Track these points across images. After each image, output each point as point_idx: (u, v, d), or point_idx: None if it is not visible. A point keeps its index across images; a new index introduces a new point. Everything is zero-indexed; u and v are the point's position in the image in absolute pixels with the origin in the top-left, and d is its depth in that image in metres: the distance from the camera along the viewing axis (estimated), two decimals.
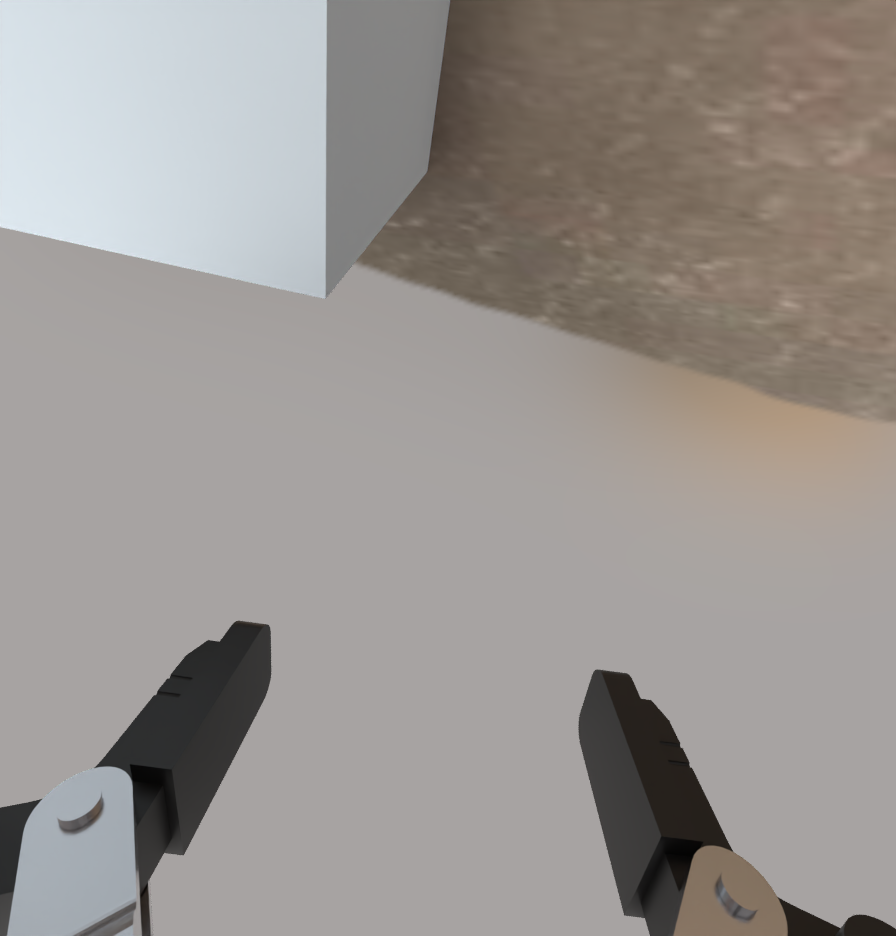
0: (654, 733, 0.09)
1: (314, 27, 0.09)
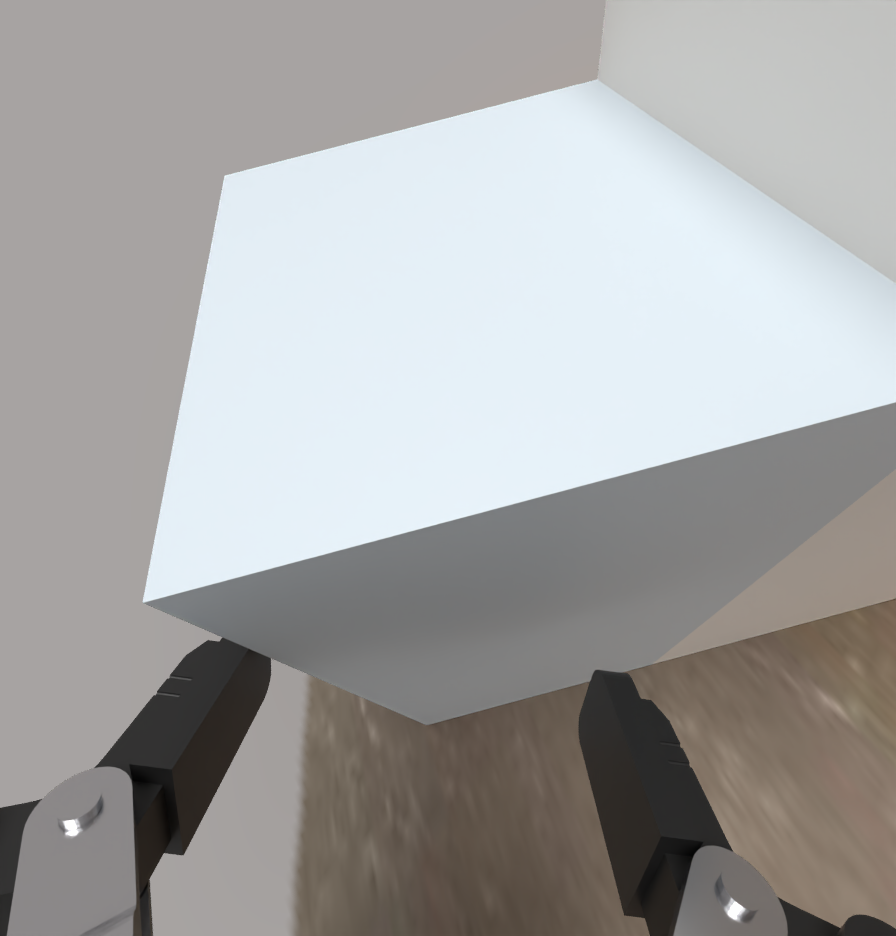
0: (654, 733, 0.09)
1: (486, 496, 0.07)
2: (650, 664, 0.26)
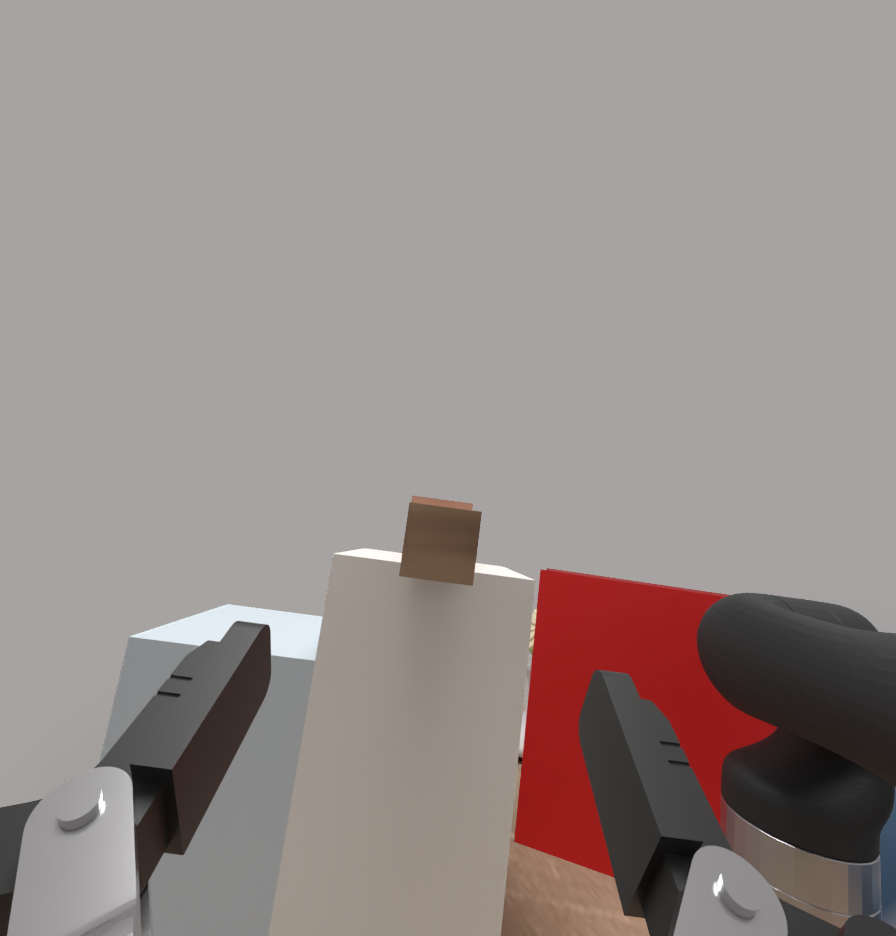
0: (654, 733, 0.09)
1: None
2: None
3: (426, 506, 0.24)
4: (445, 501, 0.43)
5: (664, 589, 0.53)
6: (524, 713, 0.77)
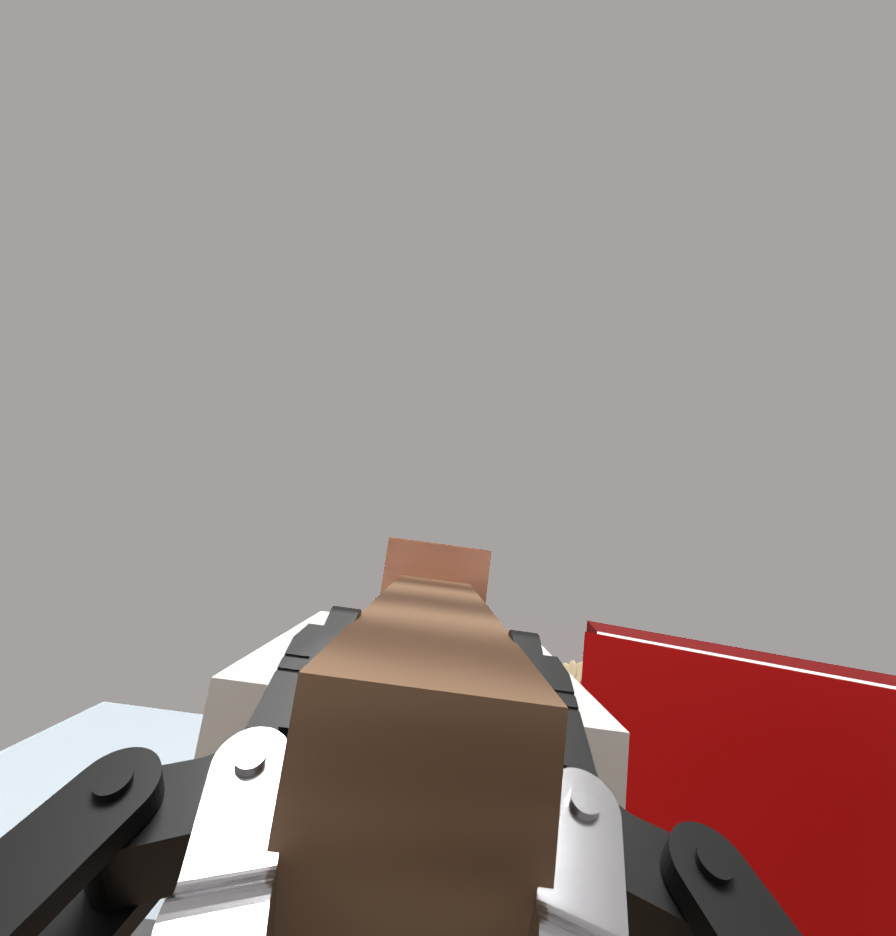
0: (547, 681, 0.10)
1: None
2: None
3: (361, 687, 0.06)
4: (444, 547, 0.26)
5: (780, 670, 0.34)
6: None
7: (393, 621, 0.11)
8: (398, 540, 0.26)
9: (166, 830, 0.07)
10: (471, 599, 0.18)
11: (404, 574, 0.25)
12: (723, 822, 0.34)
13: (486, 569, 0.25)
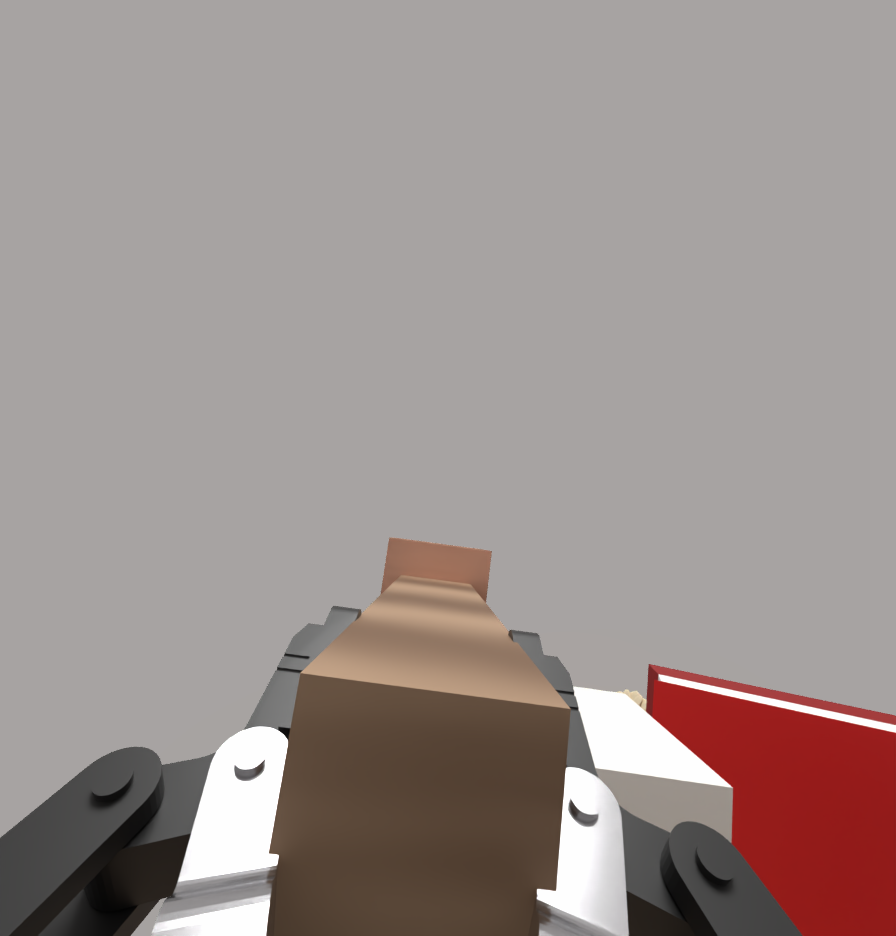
0: None
1: None
2: None
3: (363, 688, 0.06)
4: (445, 547, 0.25)
5: (817, 717, 0.43)
6: None
7: (394, 621, 0.11)
8: (398, 540, 0.25)
9: (166, 830, 0.07)
10: (472, 599, 0.18)
11: (404, 574, 0.25)
12: (772, 837, 0.43)
13: (486, 569, 0.25)
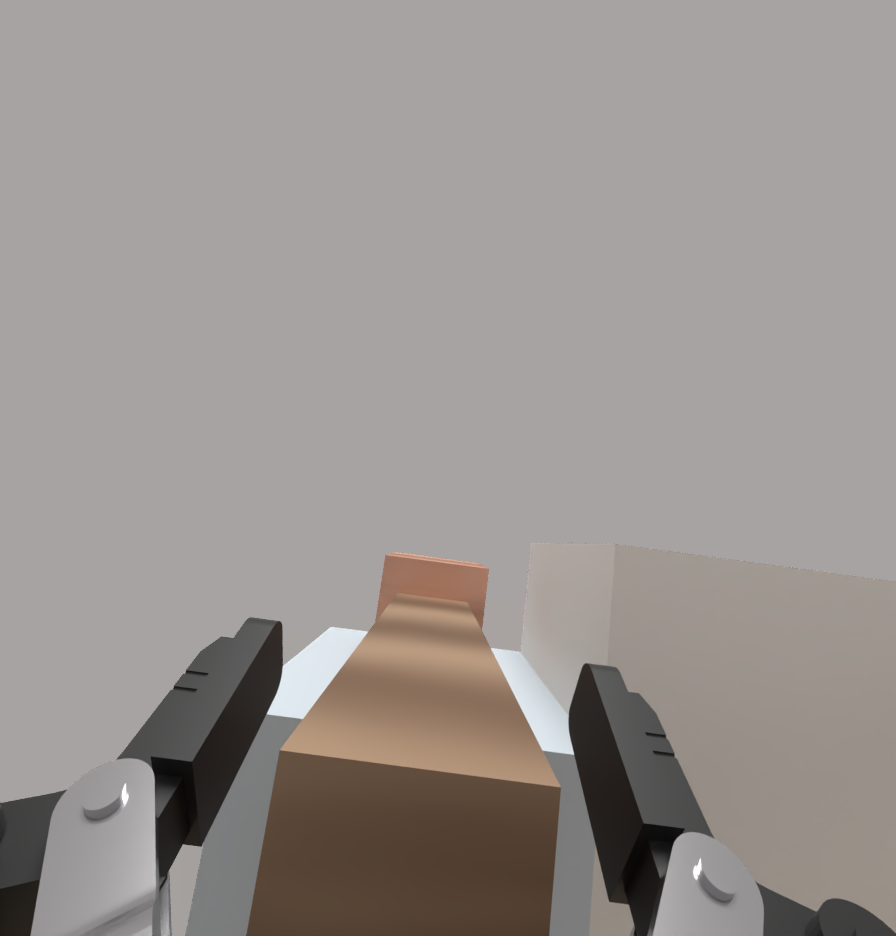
0: (640, 724, 0.09)
1: None
2: None
3: (345, 765, 0.06)
4: (442, 564, 0.25)
5: None
6: None
7: (385, 664, 0.11)
8: (395, 557, 0.25)
9: (17, 854, 0.06)
10: (467, 625, 0.18)
11: (401, 592, 0.25)
12: None
13: (484, 587, 0.25)
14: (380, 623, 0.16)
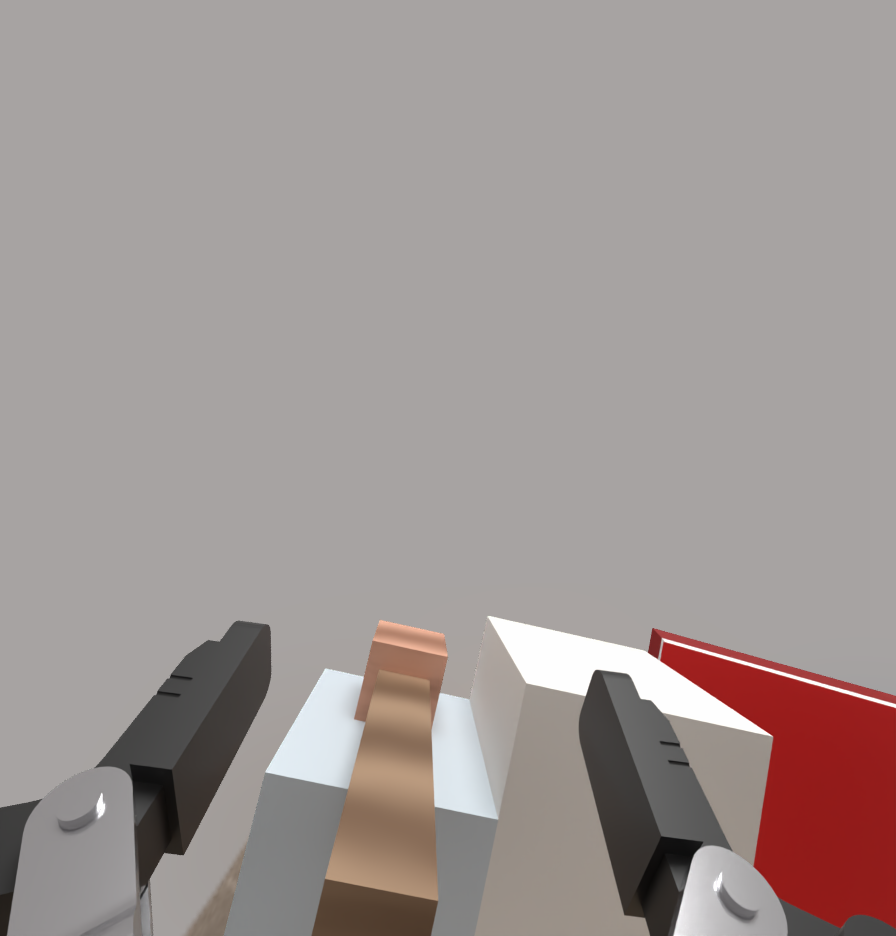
0: (654, 733, 0.09)
1: None
2: None
3: (351, 886, 0.15)
4: (413, 651, 0.34)
5: (814, 686, 0.46)
6: None
7: (368, 792, 0.20)
8: (379, 643, 0.34)
9: None
10: (423, 726, 0.27)
11: (381, 669, 0.34)
12: None
13: (442, 670, 0.34)
14: (366, 731, 0.25)
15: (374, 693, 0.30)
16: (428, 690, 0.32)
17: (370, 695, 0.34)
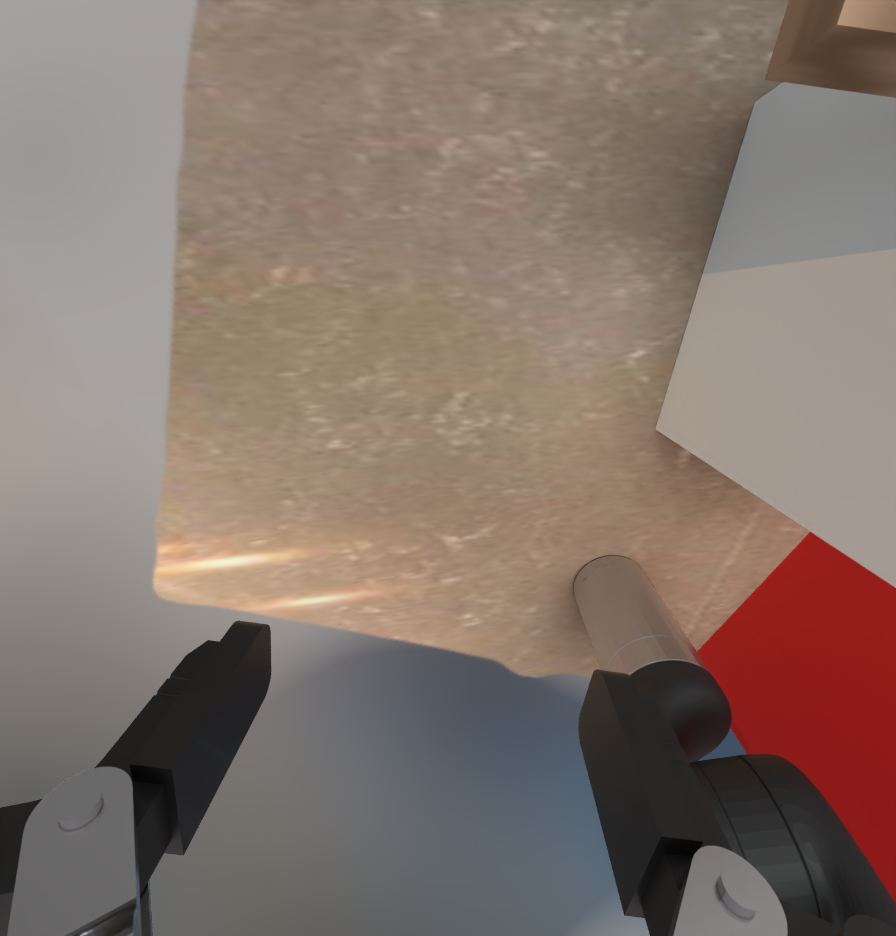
0: (654, 733, 0.09)
1: None
2: (703, 273, 0.43)
3: None
4: None
5: None
6: None
7: None
8: None
9: None
10: None
11: None
12: None
13: None
14: None
15: None
16: None
17: None
